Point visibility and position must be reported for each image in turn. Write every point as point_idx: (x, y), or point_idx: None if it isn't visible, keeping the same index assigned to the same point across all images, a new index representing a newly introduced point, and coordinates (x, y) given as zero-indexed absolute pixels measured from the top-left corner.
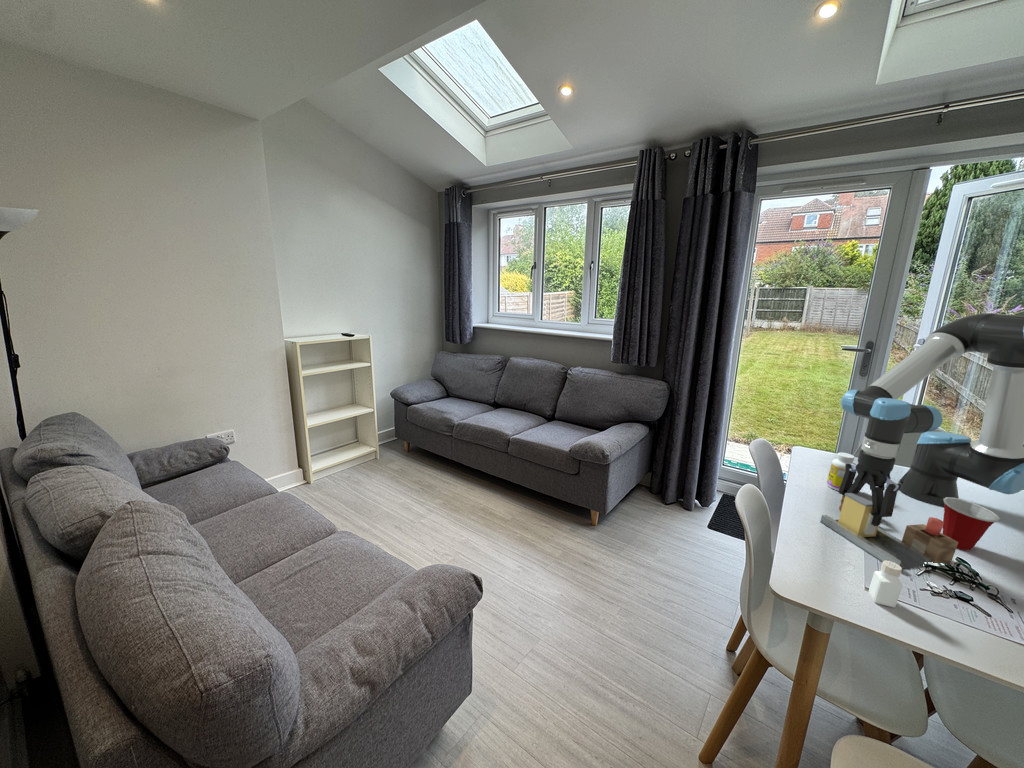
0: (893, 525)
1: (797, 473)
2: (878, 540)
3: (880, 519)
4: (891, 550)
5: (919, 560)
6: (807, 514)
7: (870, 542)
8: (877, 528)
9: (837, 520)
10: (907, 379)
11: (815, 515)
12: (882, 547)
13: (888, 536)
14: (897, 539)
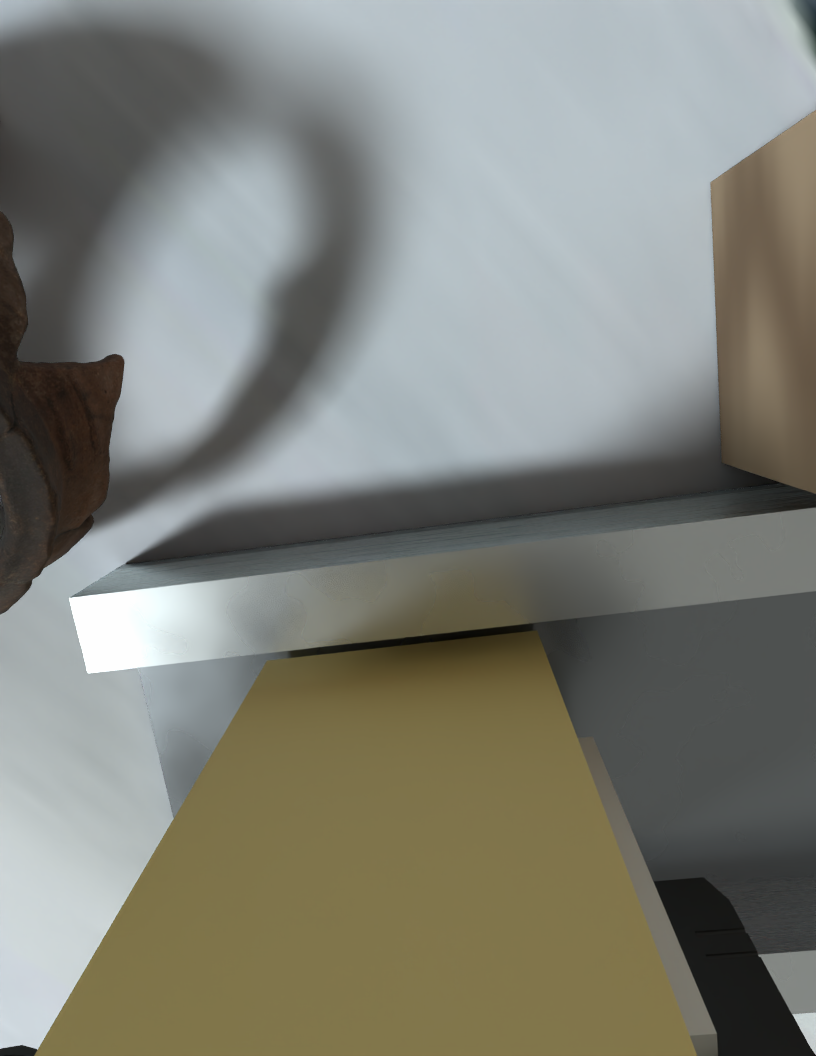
0: (205, 11)
1: None
2: (599, 640)
3: (782, 1017)
4: (795, 659)
5: None
6: (67, 988)
7: (782, 960)
8: (555, 684)
9: (180, 783)
10: None
11: (76, 918)
12: (734, 717)
13: (675, 604)
14: (758, 541)
